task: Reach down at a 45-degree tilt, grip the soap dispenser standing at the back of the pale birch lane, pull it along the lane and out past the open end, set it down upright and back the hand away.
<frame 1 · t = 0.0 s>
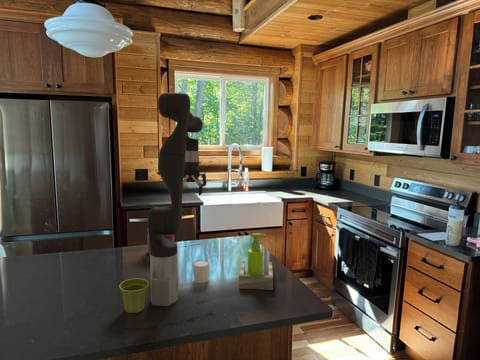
hand: (191, 194, 159), 29 cm above the counter, tool pointing down, fingers open, 8 cm apart
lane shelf: (256, 277, 138), on the counter
shot glass: (201, 280, 135), on the counter
plant pot: (134, 309, 112), on the counter
canister: (161, 252, 164), on the counter
soap dispenser: (255, 282, 134), resting in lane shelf
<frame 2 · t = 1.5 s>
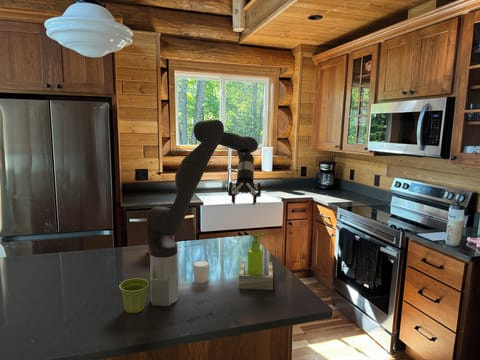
hand: (243, 203, 143), 29 cm above the counter, tool tilted 45°, fingers open, 8 cm apart
nothing on the counter moved.
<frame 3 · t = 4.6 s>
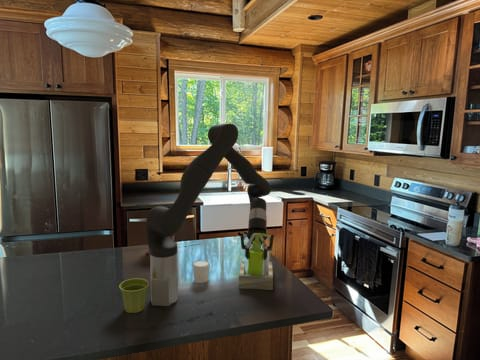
hand: (256, 258, 130), 10 cm above the counter, tool tilted 45°, fingers closed on soap dispenser, 6 cm apart
soap dispenser: (255, 282, 134), resting in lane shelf, touching gripper
everything else where it was.
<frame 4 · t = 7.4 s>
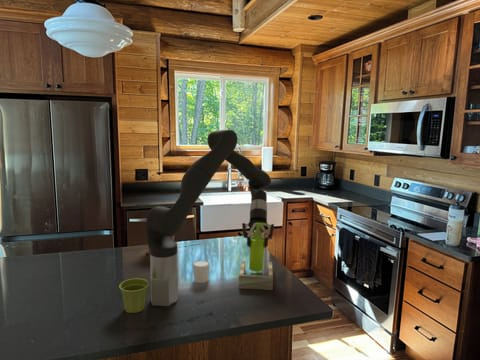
hand: (257, 246, 138), 12 cm above the counter, tool tilted 45°, fingers closed on soap dispenser, 6 cm apart
soap dispenser: (257, 269, 142), point 2 cm above the counter, touching gripper
everything else where it was.
when the fingers open (11 cm above the counter, at t = 9.9 s): soap dispenser stays where it is, on the counter.
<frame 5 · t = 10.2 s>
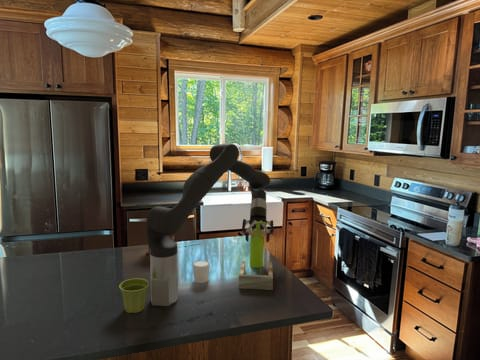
hand: (257, 241, 147), 12 cm above the counter, tool tilted 45°, fingers open, 8 cm apart
soap dispenser: (257, 265, 150), on the counter
everything else where it was.
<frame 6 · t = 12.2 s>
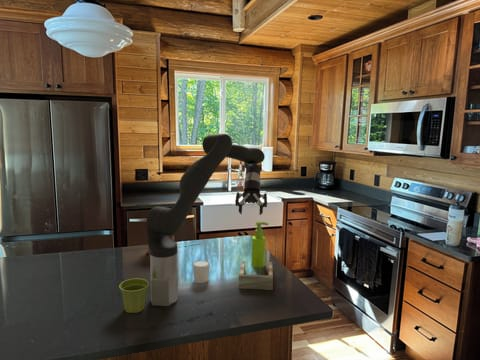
hand: (250, 213, 147), 24 cm above the counter, tool tilted 45°, fingers open, 8 cm apart
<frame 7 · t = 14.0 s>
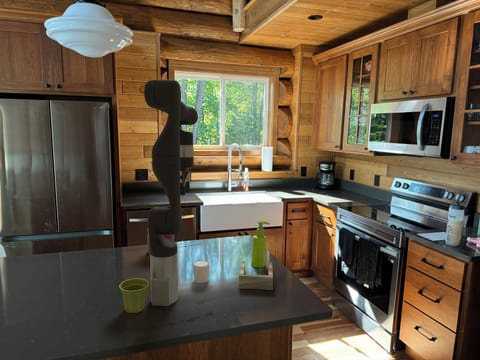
hand: (184, 193, 143), 32 cm above the counter, tool pointing down, fingers open, 8 cm apart
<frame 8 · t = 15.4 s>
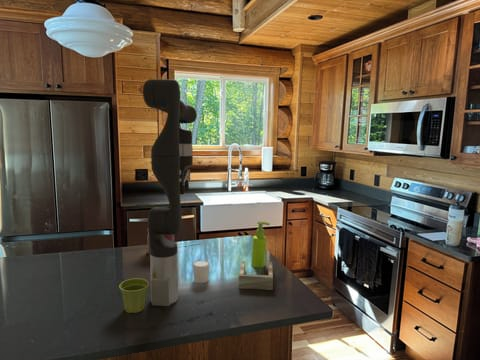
hand: (183, 192, 143), 33 cm above the counter, tool pointing down, fingers open, 8 cm apart
nothing on the counter moved.
at the end: soap dispenser inside the target area (1.7 cm from its centre), on the counter; soap dispenser tilted 3°; the gripper is holding nothing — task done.
